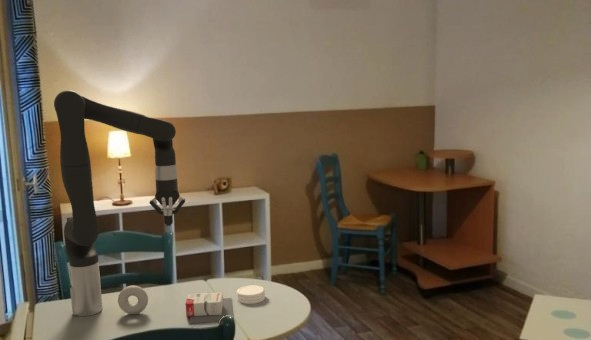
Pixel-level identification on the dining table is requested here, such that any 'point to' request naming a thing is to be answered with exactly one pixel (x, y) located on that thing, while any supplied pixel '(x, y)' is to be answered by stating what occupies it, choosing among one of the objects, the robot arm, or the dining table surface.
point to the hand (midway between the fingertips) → (168, 225)
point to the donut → (132, 291)
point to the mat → (214, 318)
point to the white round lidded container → (251, 294)
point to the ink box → (204, 304)
